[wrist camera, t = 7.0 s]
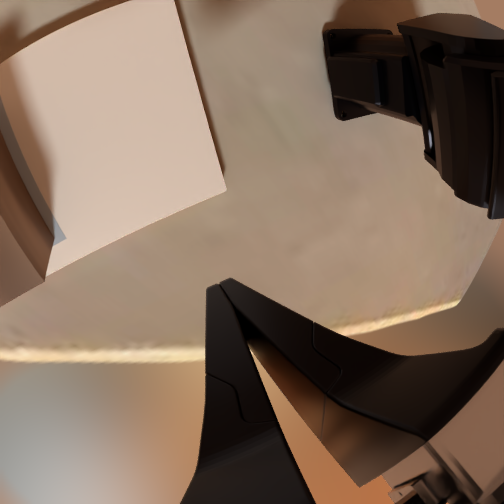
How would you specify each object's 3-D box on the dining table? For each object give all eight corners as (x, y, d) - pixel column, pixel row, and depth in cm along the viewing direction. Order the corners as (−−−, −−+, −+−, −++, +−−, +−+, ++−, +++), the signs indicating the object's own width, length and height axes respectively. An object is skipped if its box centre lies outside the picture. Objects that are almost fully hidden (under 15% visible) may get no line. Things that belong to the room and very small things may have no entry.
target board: (167, -6, 10) (171, -11, 10) (221, 185, 18) (227, 191, 17) (-95, 154, 7) (-103, 160, 6) (-11, 301, 14) (-14, 311, 13)
